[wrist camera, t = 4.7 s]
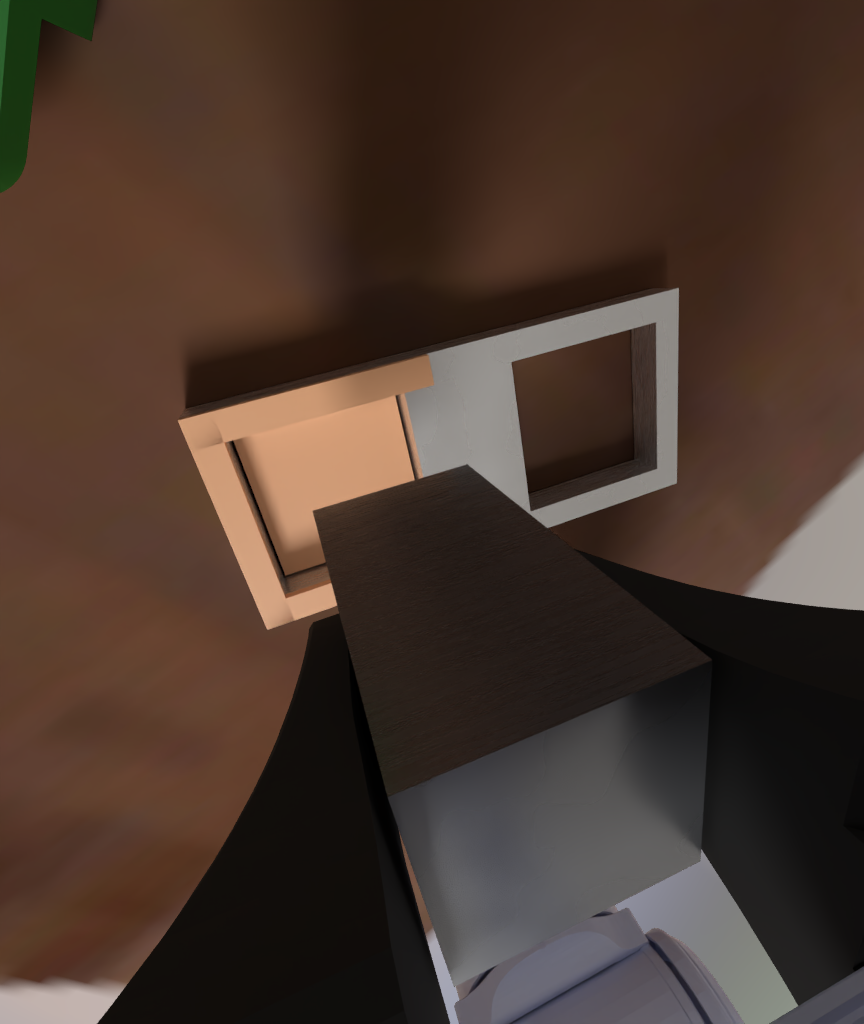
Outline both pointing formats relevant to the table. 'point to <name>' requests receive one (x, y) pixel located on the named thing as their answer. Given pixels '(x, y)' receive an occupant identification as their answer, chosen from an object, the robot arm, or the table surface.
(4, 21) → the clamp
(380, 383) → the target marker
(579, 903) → the grey rectangular block
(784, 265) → the table surface
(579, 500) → the orange and grey frame
